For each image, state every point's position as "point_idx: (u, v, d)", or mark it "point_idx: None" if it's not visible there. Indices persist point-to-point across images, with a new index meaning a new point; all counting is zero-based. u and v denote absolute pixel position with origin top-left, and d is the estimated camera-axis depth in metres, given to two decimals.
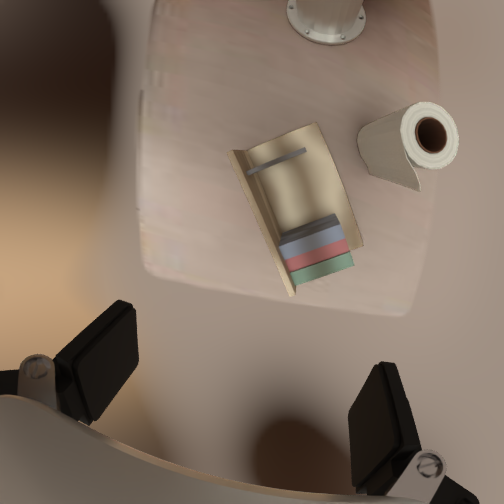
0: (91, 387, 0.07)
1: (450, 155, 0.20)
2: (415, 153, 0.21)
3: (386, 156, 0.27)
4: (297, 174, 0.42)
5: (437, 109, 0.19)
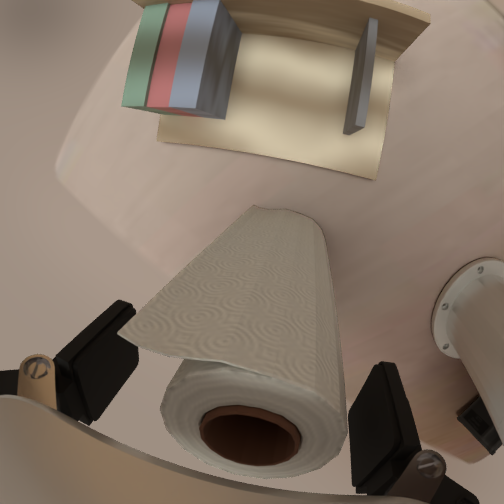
0: (91, 387, 0.07)
1: (183, 438, 0.09)
2: (223, 387, 0.07)
3: (263, 268, 0.13)
4: (316, 99, 0.22)
5: (295, 470, 0.08)
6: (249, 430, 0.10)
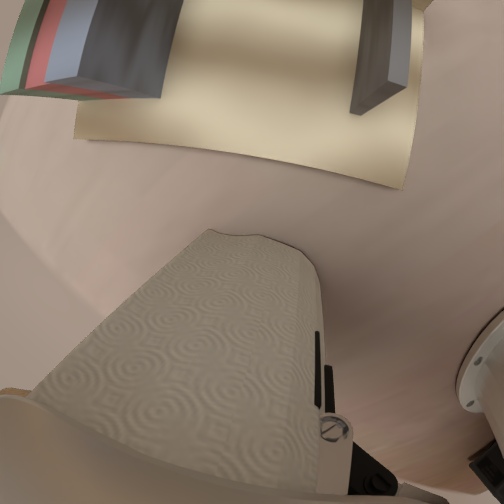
0: None
1: None
2: None
3: None
4: (305, 58, 0.12)
5: None
6: None
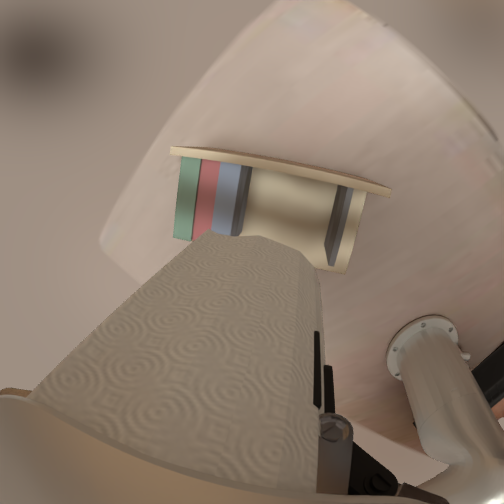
0: None
1: None
2: None
3: None
4: (307, 219, 0.34)
5: None
6: None
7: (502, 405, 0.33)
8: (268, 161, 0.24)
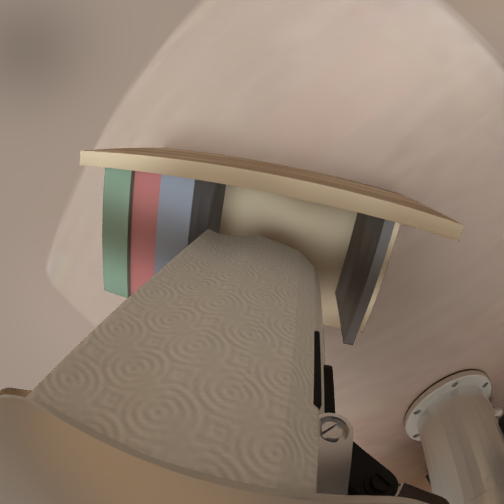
0: None
1: None
2: None
3: None
4: (311, 257, 0.22)
5: None
6: None
7: None
8: (238, 170, 0.12)
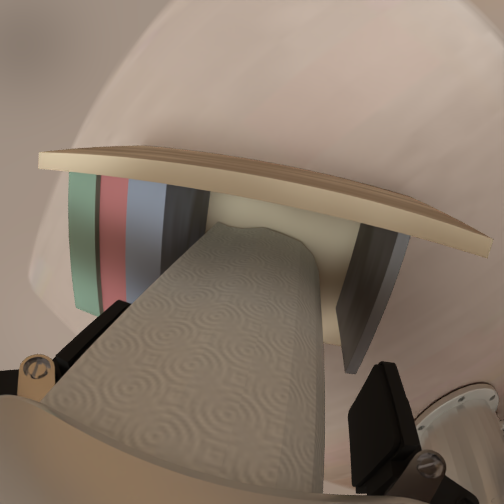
0: None
1: None
2: None
3: (176, 416, 0.05)
4: None
5: None
6: None
7: None
8: (214, 171, 0.10)
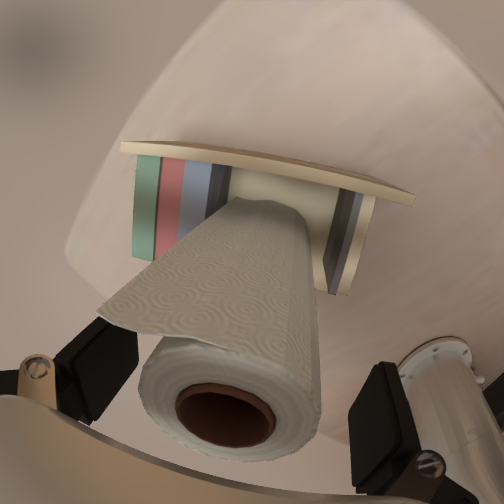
0: (91, 387, 0.07)
1: (161, 420, 0.09)
2: (194, 363, 0.08)
3: (240, 253, 0.13)
4: None
5: (273, 453, 0.09)
6: (227, 412, 0.10)
7: None
8: (246, 157, 0.17)
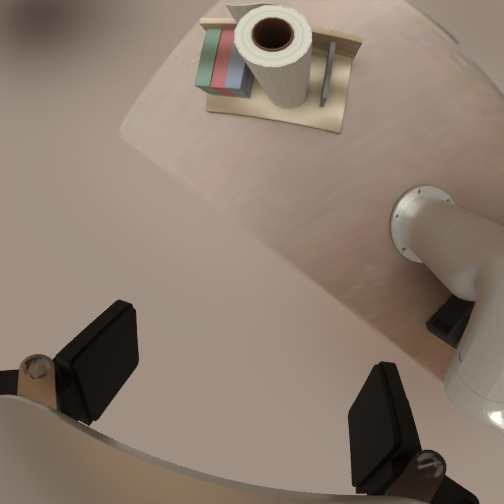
0: (91, 387, 0.07)
1: (241, 45, 0.18)
2: (263, 11, 0.17)
3: None
4: None
5: (295, 55, 0.18)
6: None
7: None
8: None
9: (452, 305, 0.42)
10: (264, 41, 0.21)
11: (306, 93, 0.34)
